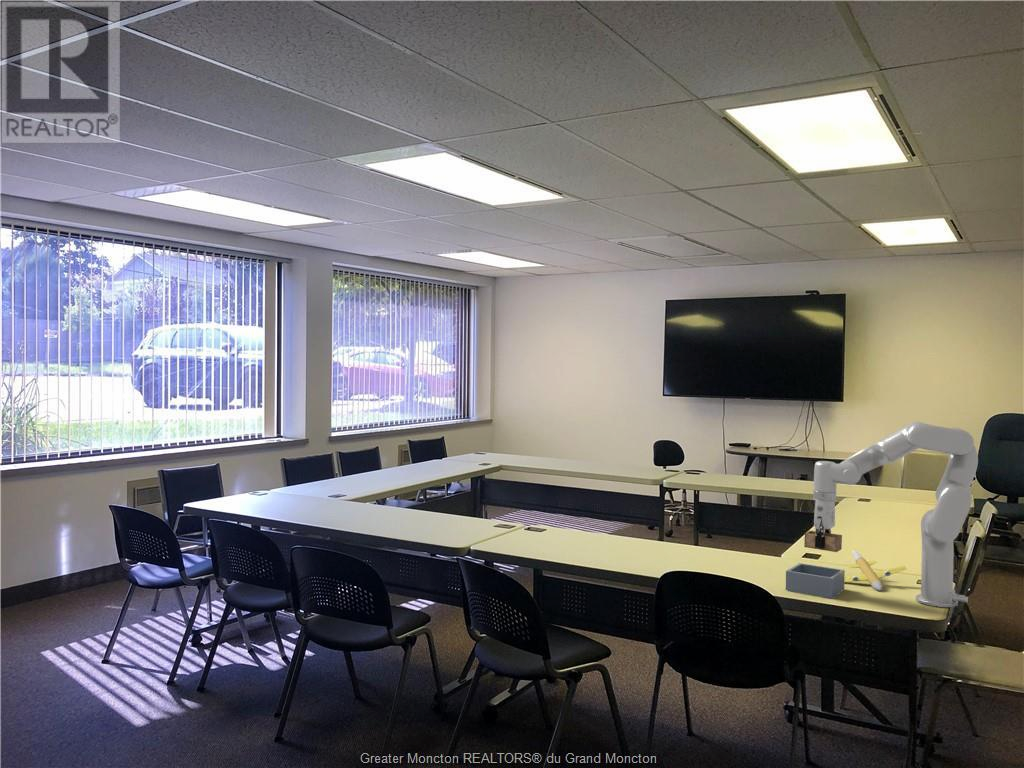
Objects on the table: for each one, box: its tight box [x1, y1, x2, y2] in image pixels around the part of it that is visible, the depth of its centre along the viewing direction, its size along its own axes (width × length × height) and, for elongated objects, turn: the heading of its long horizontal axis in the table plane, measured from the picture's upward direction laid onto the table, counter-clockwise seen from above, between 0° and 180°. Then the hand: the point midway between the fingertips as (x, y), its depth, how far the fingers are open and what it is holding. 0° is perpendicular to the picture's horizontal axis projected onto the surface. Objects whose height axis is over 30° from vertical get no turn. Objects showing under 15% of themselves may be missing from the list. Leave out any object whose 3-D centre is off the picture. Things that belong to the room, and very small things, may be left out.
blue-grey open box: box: [785, 562, 846, 599], centre depth 279 cm, size 16×15×7 cm
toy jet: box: [844, 549, 907, 592], centre depth 292 cm, size 26×7×30 cm
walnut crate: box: [804, 530, 843, 553], centre depth 277 cm, size 11×6×5 cm, turn 53°
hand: (822, 545), depth 277 cm, fingers closed on walnut crate, 6 cm apart
